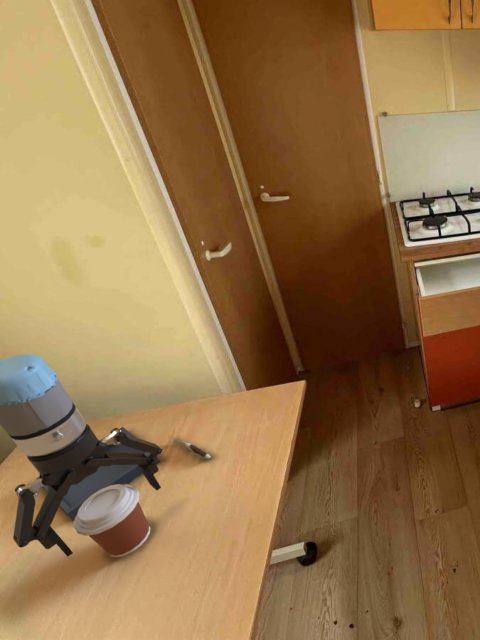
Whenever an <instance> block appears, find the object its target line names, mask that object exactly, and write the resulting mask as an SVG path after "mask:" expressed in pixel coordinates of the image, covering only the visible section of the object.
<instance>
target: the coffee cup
mask: <svg viewBox="0 0 480 640" xmlns="http://www.w3.org/2000/svg"><path fill="white" fill-rule="evenodd" d="M139 501H140V491H139V490H138V489H137V487H136V486H135V485H131V484H126V485H120V484H117V485H111V486H108V487H106V488H103V489H101V490H99V491H97V492H96V493H94V494H93V495H91V496H90V497H89V498H88V499H87V500H86V501H85V502H84V503H83V504H82V505H81V507H80V508H79V510H78V514H77V516H76V517H75V520H74V521H73V528H74V530H75V531H76V533H77V534H79V535H81V536H86V537H87V536H88V537H89V538H90V539H92V540H93V541H94V542H95V543H96V544H97V545H98V546H99V547H100V548H102V549H103V550H104V552H106V553H107V554H108V555H109V556H110V557H113V558H121V557H126V556H127V555H129V554H131V553H134V552H135V551H137V549H139V548H140V547H141V546H142V545H143V544H144V543H145V542H146V540H147V539H148V537H149V536H150V534H151V526H150V525H149V522H148V520H147V518H146V515H145V513H144V511H143V509H142V506H141V504H140V502H139Z"/></svg>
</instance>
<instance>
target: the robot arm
mask: <svg viewBox="0 0 480 640" xmlns="http://www.w3.org/2000/svg"><path fill="white" fill-rule="evenodd" d="M0 426H1V428H3V430H5V432H6V433H7V434H8V435H9V437H10V438H11V440H12V441H13V442H14V444H15V445H16V446H17V447H18V448H19V450H20V451H21V452H22V453H23V454H24V455H25V456H26V457H27V460H28V461H29V462H30V464H32V466H33V467H34V468H35V470H36V471H37V472H38V473H39V476H38V477H39V479H35V480H34V481H32V482H30V483H28V484H25V483H21V484H17V486H16V487H15V488H14V492H15V494H16V496H17V498H18V502H17V507H16V508H17V509H16V514H15V522H14V527H13V536H12V540H13V541H14V542H15V543H16V545H17V546H18V548H20V549H21V548H24V547H26V546H28V545H29V543H31V542H33V541H38V542H39V543H40V545H42V547H43V548H44V549H46V550H50V549H51V548H53V547H54V546H56V545H57V547H58V548H59V549H60V550H61V551H62V552H63V554H64V555H65V556H66V557H67V558H68V557H69V556H71V555H72V554H73V553H74V551H72V549H71V548H70V546H68V544H67V543H66V542H65V540H64V539H62V538H61V537H60V536H59V534H58V533H57V531H55V530H54V528H53V527H52V526H51V525H52V523H53V521H54V519H55V516H56V514H57V512H58V510H59V507H60V503H61V501H62V499H63V497H64V496H66V494H67V492H68V490H69V488H70V486H71V485H74V484H75V485H76V484H78V483H80V482H81V481H82V480H83V479H85V478H86V477H87V476H90V475H92V474H94V473H95V472H97V471H98V470H97V469H98V468H99V467H100V466H111V465H138V466H139V468H140V469H141V471H142V475H143V476H144V477H145V479H146V481H147V482H148V484H149V485H150V486H151V487H152V488H153V489H155V491H159V490H160V489H162V487H161V485H160V483H159V481H158V480H157V478H156V477H155V474H157V473H158V472H159V467H158V465H157V463H156V464H155V460H154V458H155V456H156V455H157V456H159V455H161V454H162V453H163V449H162V447H160V446H159V445H158V444H157V443H154V442H150V441H148V440H144V439H141V438H138V437H136V436H135V437H136V438H135V437H132V436H128V435H125V434H124V433H123V432H122V431H121V430H120V428H118V427H113V428H112V429H111V430H110V433H109V434H108V435H109V436H108V435H106V436H107V437H106V436H105V437H106V438H105V437H104V438H105V439H103V438H102V439H103V440H102V441H101V439H99V438H98V437H97V436H96V434H95V432H94V431H93V429H92V428H91V427H90V425H89V424H88V423H87V420H86V419H85V418H84V417H83V415H82V414H81V412H80V410H79V409H78V408H77V406H76V405H75V403H74V402H73V400H72V398H71V396H70V395H69V394H68V392H67V390H66V389H65V388H64V386H63V384H62V383H61V381H60V380H59V378H58V376H57V373H56V371H54V370H53V369H52V368H51V367H50V366H49V365H48V364H47V362H46V361H45V360H44V359H43V358H42V357H41V356H40V355H37V354H31V353H24V354H23V353H22V354H17V355H15V356H11V357H5V358H1V359H0ZM120 443H121V444H123V445H124V446H127V447H131V448H134V449H138V450H141V451H144V452H146V453H110V452H106V450H107V446H108V445H110V444H113V445H119V444H120ZM43 485H45V486H49V487H48V492H47V493H46V495H45V497H44V500H43V502H42V504H41V506H40V508H39V510H38V512H37V515H36V517H35V519H34V516H35V515H34V514H35V509H36V499H35V498H36V497H38V496H39V493H40V489H41V488H43V487H42V486H43Z"/></svg>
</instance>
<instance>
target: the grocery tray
mask: <svg viewBox="0 0 480 640" xmlns="http://www.w3.org/2000/svg"><path fill="white" fill-rule="evenodd" d="M119 429H120V430H121V431H122V432H123V433H124V434H125V435H128V436H132V437H135V438H137V437H136V436H135V435H134V434H133V433H131V432H130V431H129V430H128V429H126V428H125V427H124V426H121V427H120V428H119ZM109 435H110V434H108V435H106V436H105V437H103V438H102V439H100V440H101V441H102V440H103V439H105V438H106V437H107V436H109ZM106 452H110V453H146V452H144V451H141V450H138V449H134V448H131V447H127V446H124V445H123V444H121V443H120V444H119V445H113V444H110V445H108V446H107V450H106ZM154 460H155V464H156V465H157V464H158V463H160V461H161V460H160V459H159V457H158V455H156V456H155V458H154ZM97 470H98V471H97V472H95V473H94V474H92V475H90V476H87V477H86V478H85V479H83V480H82V481H81V482H80V483H78V484H76V485H75V484H74V485H71V486H70V488H69V490H68V492H67V494H66V496H64V497H63V499H62V501H61V503H60V506H59V507H60V508H61V510H62V511H64V513H65V514H66V515H67V516H68V517H69V518H70V519H71V521H73V522H74V521H75V517H76V516H77V514H78V510H79V508H80V507H81V505H82V504H83V503H84V502H85V501H86V500H87V499H88V498H89V497H90V496H91V495H93V494H94V493H96V492H97V491H99V490H101V489H103V488H106V487H108V486H111V485H117V484H120V485H126V484H127V485H129V483H131V482H132V481H133V480H135V479H136V478H138V477H140V476H141V475H143V473H142V471H141V469H140V468H139V466H138V465H111V466H100V467H99V468H98V469H97ZM37 479H39V476H38V477H36V479H35V480H37ZM48 487H49V486H45V485H43V486H42V487H41V488H43V489H44V490H45V491H46V492H47V493H48Z"/></svg>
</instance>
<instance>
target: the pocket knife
mask: <svg viewBox="0 0 480 640" xmlns="http://www.w3.org/2000/svg"><path fill="white" fill-rule="evenodd" d="M172 439H173V441H175V442H176V443H178V444H180V445H182V446H184V447H186V449H188V451H192V452H193V453H194V454H197V455H199V456H200V457H202V458H204V459H206V460H209V459H210V458H211V455H210V454H209V453H208V452H207V451H205V450H204V449H201V448H200V447H198V446H196V445H194V444H192V443H189V442H186V441H183V440H180V439H177V438H175V437H172Z"/></svg>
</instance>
